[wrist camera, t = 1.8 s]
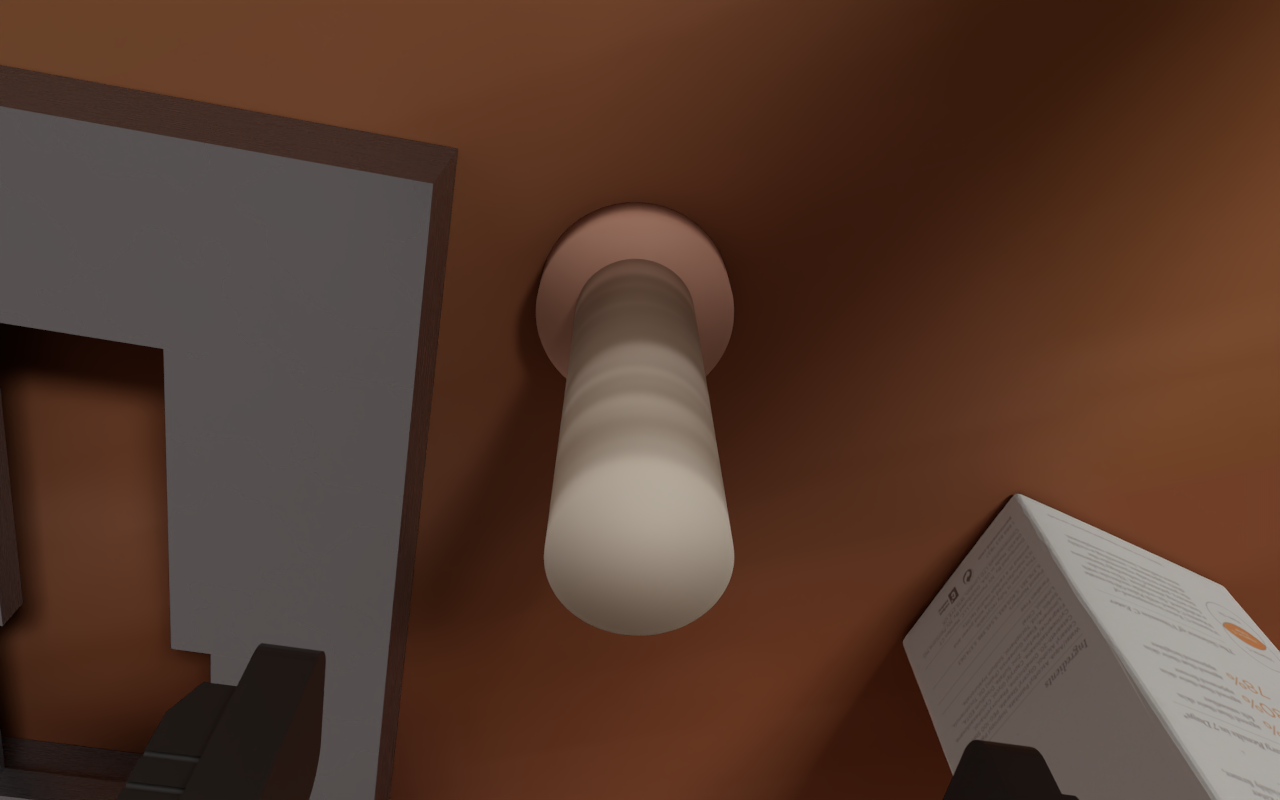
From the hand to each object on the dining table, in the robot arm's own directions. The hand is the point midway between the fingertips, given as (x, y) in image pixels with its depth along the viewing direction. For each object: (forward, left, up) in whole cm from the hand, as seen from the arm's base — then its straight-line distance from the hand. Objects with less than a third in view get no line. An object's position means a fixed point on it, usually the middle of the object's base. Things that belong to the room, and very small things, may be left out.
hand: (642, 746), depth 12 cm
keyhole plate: (+9, -13, -16) cm, 22 cm away
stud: (0, 0, -16) cm, 16 cm away
